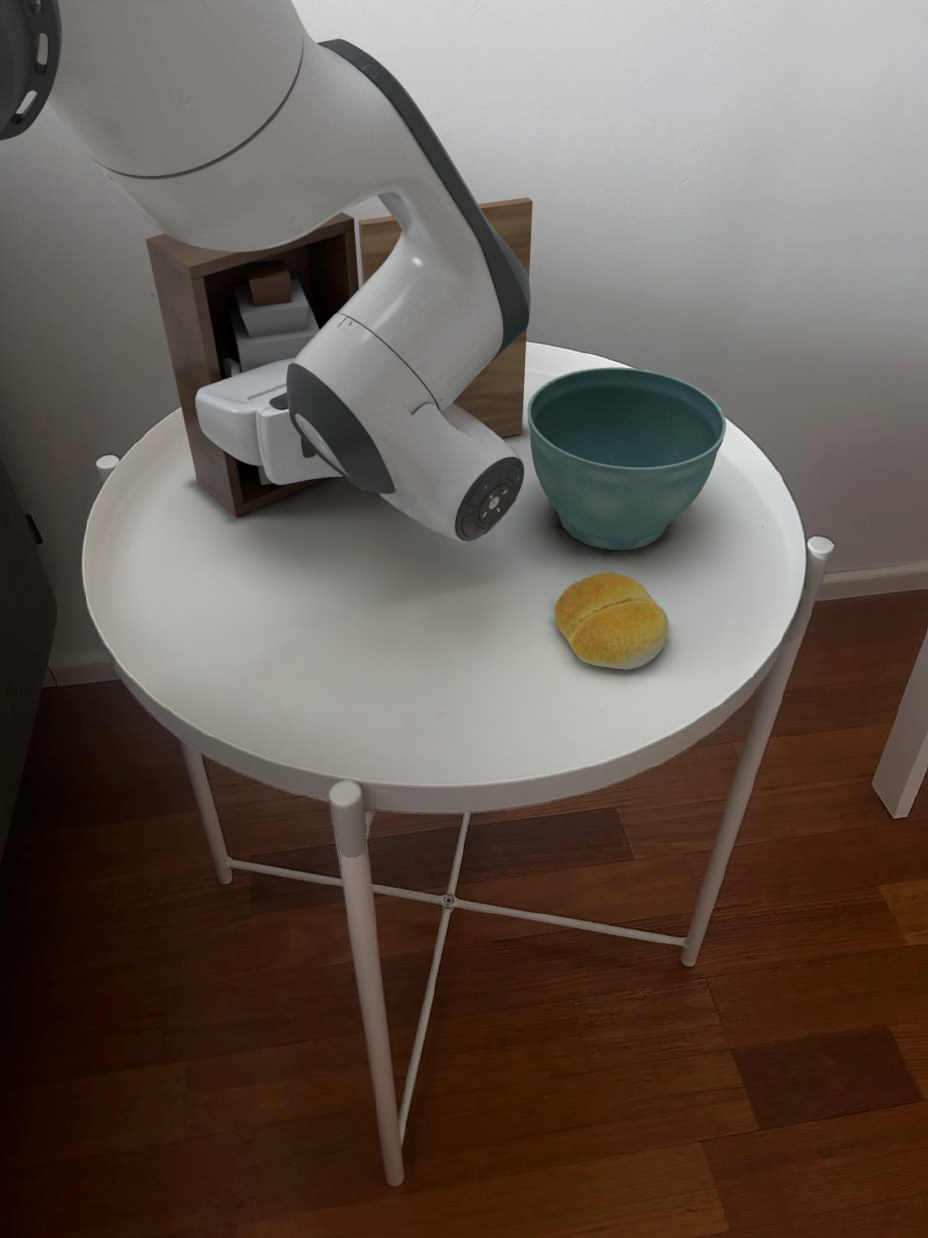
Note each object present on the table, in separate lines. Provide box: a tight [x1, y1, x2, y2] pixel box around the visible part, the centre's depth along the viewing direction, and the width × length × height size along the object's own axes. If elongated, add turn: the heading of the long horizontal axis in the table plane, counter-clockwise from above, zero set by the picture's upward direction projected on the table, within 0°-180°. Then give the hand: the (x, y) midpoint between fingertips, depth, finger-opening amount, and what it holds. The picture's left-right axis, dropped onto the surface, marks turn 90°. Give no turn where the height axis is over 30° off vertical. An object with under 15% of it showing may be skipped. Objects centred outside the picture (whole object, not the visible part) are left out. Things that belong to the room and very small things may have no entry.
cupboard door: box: [357, 197, 534, 439], centre depth 93 cm, size 6×15×23 cm, turn 110°
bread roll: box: [554, 572, 669, 671], centre depth 78 cm, size 8×9×4 cm
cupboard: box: [145, 211, 360, 518], centre depth 88 cm, size 7×15×23 cm, turn 130°
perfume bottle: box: [229, 259, 320, 485], centre depth 87 cm, size 7×7×18 cm
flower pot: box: [526, 366, 727, 551], centre depth 86 cm, size 16×16×11 cm
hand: (269, 350), depth 88 cm, fingers closed on perfume bottle, 6 cm apart
